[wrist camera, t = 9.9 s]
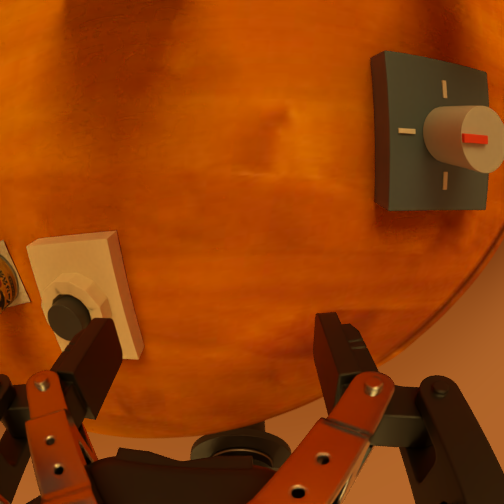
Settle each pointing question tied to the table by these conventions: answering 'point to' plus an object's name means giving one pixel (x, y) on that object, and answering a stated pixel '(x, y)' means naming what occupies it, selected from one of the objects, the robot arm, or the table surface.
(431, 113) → the knob
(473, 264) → the table surface
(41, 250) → the housing
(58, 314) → the button
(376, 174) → the panel
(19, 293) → the condiment
